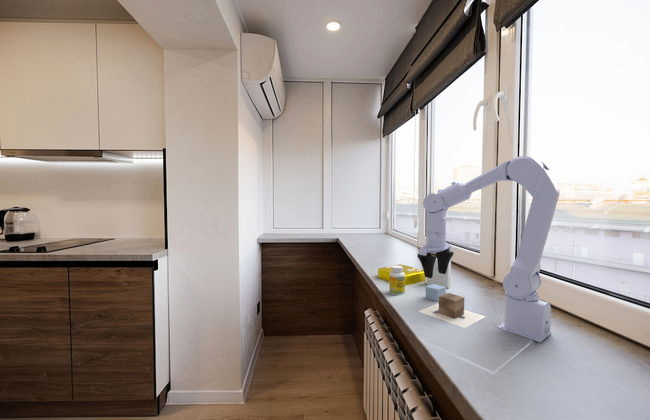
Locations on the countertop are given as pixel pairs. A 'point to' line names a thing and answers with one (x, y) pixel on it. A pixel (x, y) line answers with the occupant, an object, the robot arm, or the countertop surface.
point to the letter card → (460, 321)
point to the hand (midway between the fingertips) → (435, 275)
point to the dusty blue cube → (435, 292)
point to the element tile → (410, 273)
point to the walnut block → (451, 305)
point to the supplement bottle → (397, 281)
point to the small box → (440, 276)
